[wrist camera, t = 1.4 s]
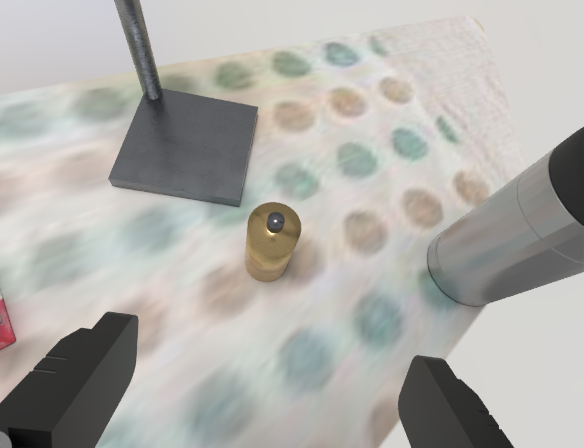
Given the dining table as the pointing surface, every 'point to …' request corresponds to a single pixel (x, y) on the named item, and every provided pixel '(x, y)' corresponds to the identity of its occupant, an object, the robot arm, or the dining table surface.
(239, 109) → the stand
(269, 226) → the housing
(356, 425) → the dining table surface
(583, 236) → the robot arm
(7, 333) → the ink box
